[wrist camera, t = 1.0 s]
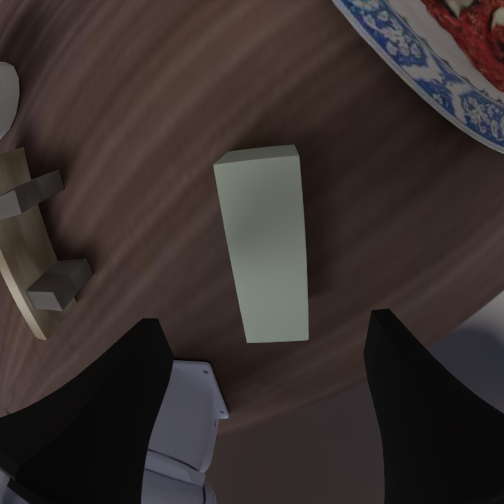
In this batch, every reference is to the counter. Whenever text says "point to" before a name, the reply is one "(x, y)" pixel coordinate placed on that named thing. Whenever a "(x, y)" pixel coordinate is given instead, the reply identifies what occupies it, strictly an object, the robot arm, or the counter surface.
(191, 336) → the counter surface
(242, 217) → the block
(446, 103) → the ceramic plate
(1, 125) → the white cup
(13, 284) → the wooden base
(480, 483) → the robot arm
